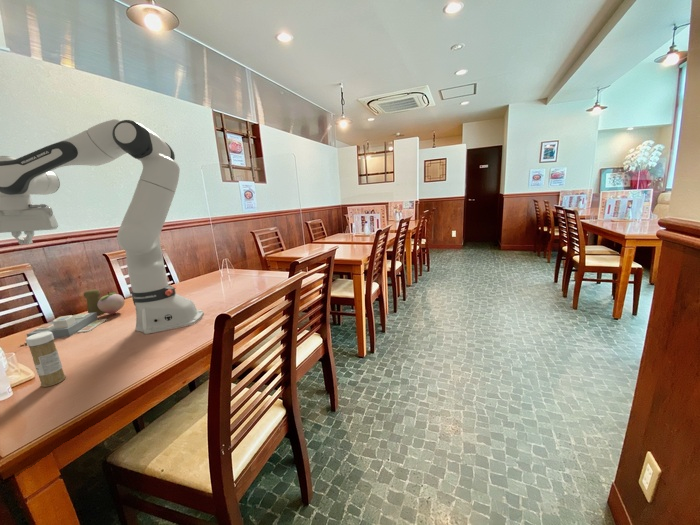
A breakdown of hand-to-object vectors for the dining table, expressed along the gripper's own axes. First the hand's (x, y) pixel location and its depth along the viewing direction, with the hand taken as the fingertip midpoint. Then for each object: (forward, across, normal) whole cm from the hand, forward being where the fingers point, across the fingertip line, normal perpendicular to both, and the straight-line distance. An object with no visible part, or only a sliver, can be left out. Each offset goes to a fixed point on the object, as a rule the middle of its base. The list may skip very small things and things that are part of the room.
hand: (26, 244), depth 100 cm
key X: (+31, -10, +8) cm, 33 cm away
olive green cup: (+33, -9, -11) cm, 36 cm away
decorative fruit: (+33, -17, -8) cm, 38 cm away
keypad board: (+33, -7, +4) cm, 34 cm away
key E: (+33, -10, 0) cm, 34 cm away
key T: (+33, -4, +8) cm, 34 cm away
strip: (+33, -16, +4) cm, 37 cm away
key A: (+33, -4, 0) cm, 33 cm away
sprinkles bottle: (+33, -29, +44) cm, 62 cm away
